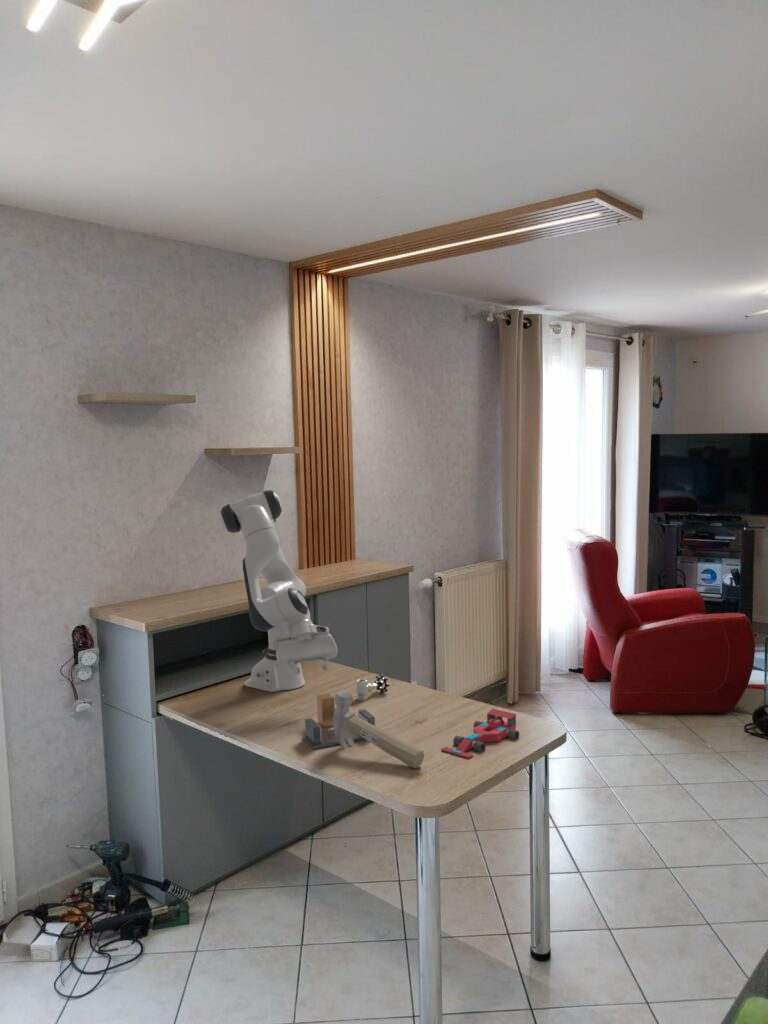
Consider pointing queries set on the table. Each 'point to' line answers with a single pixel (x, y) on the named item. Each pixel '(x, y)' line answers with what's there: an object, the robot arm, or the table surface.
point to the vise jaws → (331, 732)
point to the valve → (370, 687)
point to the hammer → (370, 733)
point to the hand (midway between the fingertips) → (312, 671)
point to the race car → (486, 733)
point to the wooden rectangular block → (325, 709)
